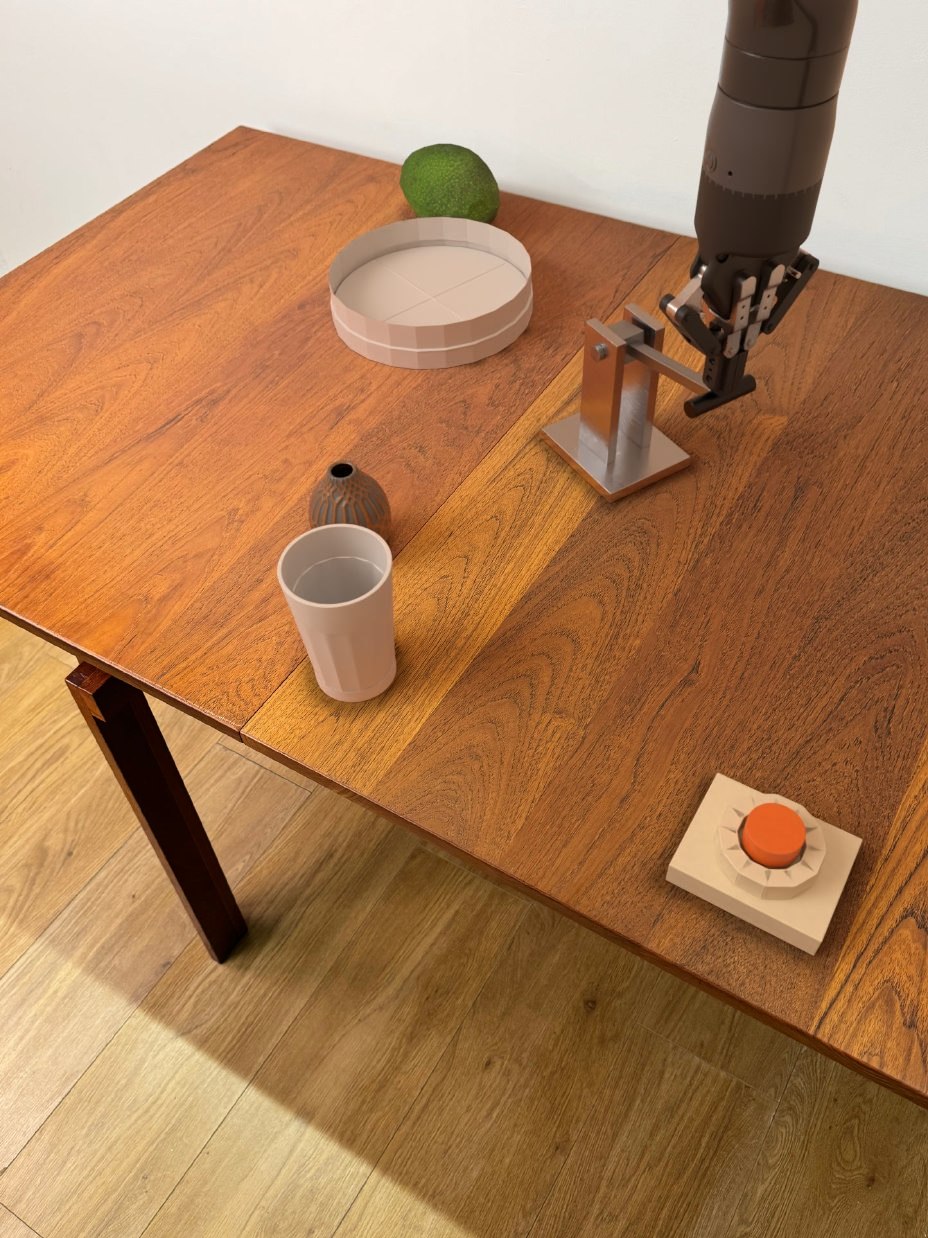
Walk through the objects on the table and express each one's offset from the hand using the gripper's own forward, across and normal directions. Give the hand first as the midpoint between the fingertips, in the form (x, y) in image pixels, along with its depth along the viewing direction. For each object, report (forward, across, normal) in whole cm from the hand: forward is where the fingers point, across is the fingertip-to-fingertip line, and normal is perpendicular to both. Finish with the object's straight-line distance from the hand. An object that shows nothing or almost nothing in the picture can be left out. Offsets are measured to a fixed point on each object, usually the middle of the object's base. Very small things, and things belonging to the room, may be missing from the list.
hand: (721, 388), depth 75 cm
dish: (+15, -2, +42) cm, 45 cm away
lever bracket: (+15, 0, +12) cm, 19 cm away
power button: (+11, -17, -27) cm, 34 cm away
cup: (+15, -32, +2) cm, 35 cm away
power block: (+15, -17, -27) cm, 35 cm away
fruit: (+15, +9, +57) cm, 59 cm away
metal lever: (+3, 0, +6) cm, 7 cm away
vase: (+15, -26, +14) cm, 33 cm away
